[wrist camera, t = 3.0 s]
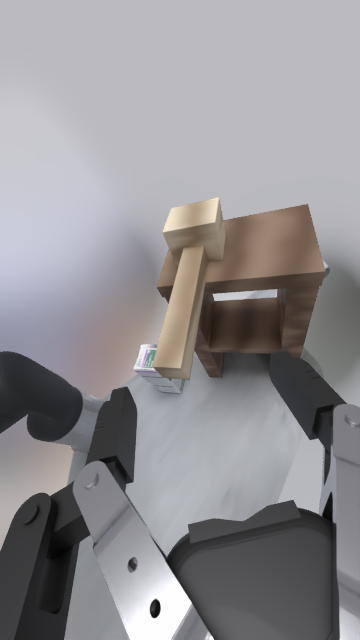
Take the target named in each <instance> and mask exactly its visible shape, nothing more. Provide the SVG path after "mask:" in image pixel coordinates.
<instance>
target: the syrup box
mask: <svg viewBox="0 0 360 640" xmlns="http://www.w3.org/2000/svg"><path fill="white" fill-rule="evenodd" d="M157 346H158V345H156V344H145V345H141V347H140V350H139V353H138V356H137V358H136V362H135V365H134V368H133V370H134V371H135V372H136V373H138V374H139V375H140V376H142V377H143V378H144V379H145V380H147V381H148V382H149V383H151V384H152V385H153V386H154V387H156V388H157V389H158V390H159V391H161V392H170V393H179V394H181V393H182V388H183V384H184V379H173V378H163V377H162V376H161V375H160V374H159V373H158V372H157V371H156V370H155V369H154V368H153V367H152V365H153V361H154V357H155V354H156V350H157Z"/></svg>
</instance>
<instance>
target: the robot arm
mask: <svg viewBox="0 0 360 640" xmlns="http://www.w3.org/2000/svg"><path fill="white" fill-rule="evenodd" d="M270 378H271V381H272V383H273V385H274V386H275V388H276V389H277V391H278V392H279V394H280V395H281V397H282V398H283V400H284V401H285V403H286V404H287V406H288V407H289V409H290V411H291V412H292V414H293V415H294V417H295V418H296V420H297V421H298V423H299V424H300V426H301V427H302V429H303V430H304V432H305V433H306V435H307V436H308V438H309V439H310V440H312V439H317V438H318V439H319V440H320V442H321V443H322V444H323V446H324V447H323V471H322V492H321V498H320V507H319V514H317V513H314V512H312V511H309V510H305V509H302V508H297V506H296V504H295V502H294V500H291V501H286V502H282V503H278V504H274V505H269V506H267V507H265V508H264V509H262V510H261V511H259V512H258V513H256V514H255V515H253V516H252V517H250V518H249V519H247V520H245V521H232V520H223V519H210V520H205V521H201V522H197V523H193V524H188V528H189V533H188V534H186V535H185V536H184V537H182V538H181V539H180V540H179V541H178V542H177V543H176V545H175V546H174V547H173V549H172V550H171V551H170V553H169V555H168V556H166V554H165V553H164V551H163V550H162V548H161V547H160V545H159V544H158V542H157V540H156V539H155V537H154V536H153V535H152V533H151V532H150V530H149V528H148V527H147V525H146V524H145V522H144V521H143V519H142V518H141V516H140V514H139V513H138V511H137V510H136V508H135V507H134V505H133V503H132V502H131V500H130V499H129V497H128V496H127V494H126V493H125V489H126V484H127V483H132V482H133V480H134V463H135V446H136V429H137V408H136V404H135V402H134V400H133V398H132V395H131V393H130V391H129V389H128V387H122V388H118V389H114V390H113V391H112V394H111V399H110V401H106V402H104V401H102V400H100V399H98V398H96V397H94V396H92V395H90V394H87V393H85V392H83V391H81V390H79V389H77V388H75V387H73V386H72V385H70V384H69V383H68V382H67V381H65V380H64V379H63V378H62V377H60V376H59V375H57V374H55V373H53V372H51V371H50V370H48V369H46V368H45V367H43V366H41V365H40V364H38V363H36V362H35V361H33V360H31V359H29V358H28V357H25V356H23V355H21V354H18V353H15V352H8V351H6V352H5V351H4V352H0V433H2V432H3V431H5V430H6V429H8V428H9V427H11V426H12V425H13V424H15V423H16V422H17V421H19V420H20V419H21V418H23V417H24V416H26V415H27V414H28V418H27V429H28V432H29V434H30V435H31V436H32V437H33V438H35V439H37V440H41V441H46V442H53V443H59V444H65V445H71V447H72V449H73V450H74V451H80V452H87V453H88V457H87V461H86V465H85V467H84V468H83V469H82V470H81V471H80V472H79V473H78V475H77V477H76V479H75V481H73V482H72V483H71V484H69V485H68V486H66V487H65V488H63V489H61V490H60V491H58V492H56V493H55V494H53V495H51V496H49V495H48V494H46V493H38V494H35V495H33V496H32V497H30V498H29V499H28V500H26V502H24V504H22V505H21V507H20V508H19V509H18V511H17V512H16V514H15V516H14V518H13V520H12V522H11V525H10V528H9V530H8V533H7V535H6V538H5V541H4V543H3V546H2V549H1V551H0V640H64V636H65V630H66V623H67V617H68V611H69V605H70V599H71V593H72V586H73V580H74V574H75V568H76V562H77V556H78V550H79V543H80V541H82V540H83V539H85V538H86V537H88V536H89V535H91V536H92V538H93V541H94V545H93V550H94V554H95V556H96V559H97V561H98V564H99V566H100V569H101V571H102V573H103V576H104V578H105V581H106V583H107V585H108V588H109V590H110V593H111V595H112V597H113V600H114V602H115V605H116V607H117V609H118V612H119V614H120V617H121V619H122V621H123V624H124V626H125V629H126V631H127V633H128V636H129V638H130V640H360V407H358V406H355V405H351V404H347V403H346V402H345V401H344V400H343V399H342V398H341V397H340V396H339V395H338V394H337V393H336V392H335V391H334V390H333V389H332V388H331V387H330V386H329V384H327V382H326V381H325V380H324V379H323V378H321V376H320V375H319V374H318V373H317V372H315V370H314V369H313V368H312V367H311V366H310V364H309V363H307V362H306V361H304V360H302V359H300V358H299V357H296V358H293V357H292V356H291V355H290V354H289V353H288V352H287V351H286V350H283V351H278V352H274V353H271V354H270Z"/></svg>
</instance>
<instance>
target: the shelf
mask: <svg viewBox="0 0 360 640" xmlns="http://www.w3.org/2000/svg"><path fill="white" fill-rule="evenodd" d="M223 223H224V229H225V244H224V253H223V260H219V261H211V262H208V268H207V275H206V281H205V287H204V293H203V299H202V306H201V312H200V318H199V324H198V331H197V337H196V343H195V349H194V350H195V352H196V354H197V355H198V357H199V359H200V361H201V363H202V364H203V366H204V368H205V370H206V372H207V373H208V375H209V377H222V370H223V358H224V352H230V353H274V352H278V351H283V350H286V351H287V352H288V353H289V354H290V355H291V356H292V357H293V358H296V357H299V358H300V356H301V353H302V349H303V345H304V342H305V338H306V334H307V330H308V327H309V323H310V319H311V315H312V312H313V308H314V304H315V301H316V297H317V293H318V289H319V286H321V285H322V281H323V278H324V274H325V268H324V265H323V261H322V257H321V253H320V249H319V245H318V241H317V238H316V234H315V230H314V226H313V223H312V218H311V214H310V211H309V207H308V204H306V205H301V206H296V207H290V208H285V209H281V210H275V211H270V212H265V213H260V214H254V215H249V216H244V217H239V218H234V219H229V220H223ZM178 267H179V266H177V265H176V263H175V261H174V258H173V256H172V254H171V251H170V249H169V250H168V253H167V256H166V259H165V262H164V266H163V269H162V272H161V275H160V278H159V281H158V284H157V289H158V290H159V292H160V294H161V295H162V297H165V298H166V300H167V302H168V304H169V301H170V297H171V294H172V290H173V286H174V282H175V279H176V275H177V271H178ZM269 289H278V291H277V297H276V298H260V299H243V300H228V301H214V298H213V295H212V294H215V293H227V292H242V291H255V290H269Z"/></svg>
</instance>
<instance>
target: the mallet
mask: <svg viewBox="0 0 360 640" xmlns="http://www.w3.org/2000/svg"><path fill="white" fill-rule="evenodd" d="M163 235H164V237H165V240H166V242H167V244H168V247H169V249H170V251H171V254H172V256H173V258H174V261H175V263H176V265H177V266H179V267H178V271H177V275H176V279H175V282H174V286H173V290H172V294H171V297H170V301H169V305H168V309H167V313H166V316H165V320H164V324H163V327H162V331H161V335H160V339H159V343H158V346H157V350H156V354H155V357H154V361H153V365H152V367H153V368H154V369H155V370H156V371H157V372H158V373H159V374H160V375H161V376H162V377H163V378H173V379H186V380H190V374H191V368H192V362H193V355H194V349H195V343H196V337H197V331H198V324H199V318H200V312H201V306H202V299H203V293H204V287H205V281H206V275H207V268H208V262H211V261H219V260H223V253H224V244H225V229H224V223H223V217H222V211H221V205H220V199H219V197H218V198H213V199H209V200H205V201H200V202H196V203H192V204H187V205H184V206H179V207H175V208H171V211H170V214H169V216H168V219H167V221H166V224H165V227H164V230H163Z"/></svg>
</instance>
